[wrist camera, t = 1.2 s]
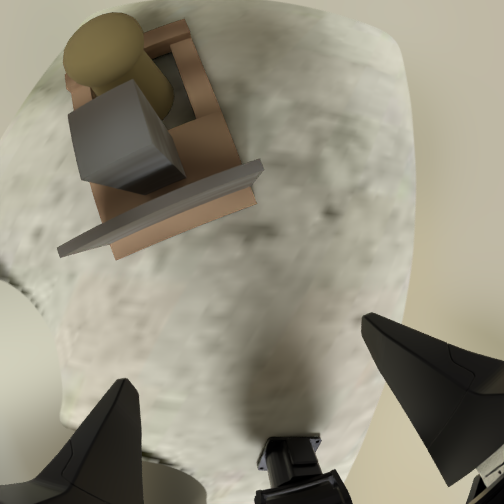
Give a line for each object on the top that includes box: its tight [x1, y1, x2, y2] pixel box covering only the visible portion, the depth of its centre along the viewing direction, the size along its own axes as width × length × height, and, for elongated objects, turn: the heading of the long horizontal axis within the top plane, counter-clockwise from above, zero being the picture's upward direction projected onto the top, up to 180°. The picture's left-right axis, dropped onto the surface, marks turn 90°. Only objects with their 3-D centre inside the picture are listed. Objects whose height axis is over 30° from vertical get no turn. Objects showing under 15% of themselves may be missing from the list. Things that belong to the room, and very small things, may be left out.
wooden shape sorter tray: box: [57, 19, 264, 260], centre depth 14 cm, size 18×12×11 cm, turn 20°
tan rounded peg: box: [63, 12, 174, 121], centre depth 14 cm, size 6×6×11 cm
